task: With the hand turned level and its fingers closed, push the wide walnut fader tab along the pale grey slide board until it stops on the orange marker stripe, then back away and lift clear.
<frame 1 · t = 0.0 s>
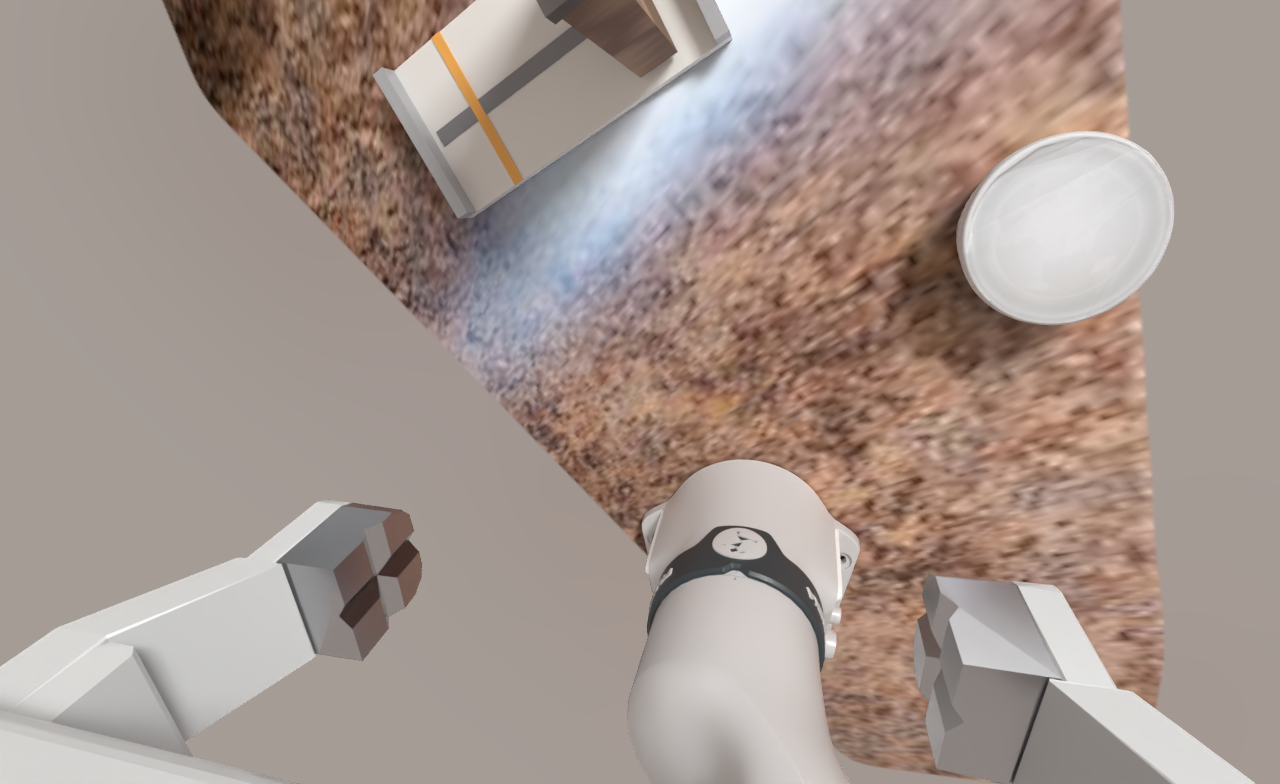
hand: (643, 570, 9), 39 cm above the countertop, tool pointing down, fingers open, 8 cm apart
ramekin: (1030, 227, 40), on the countertop
slide board: (550, 61, 44), on the countertop
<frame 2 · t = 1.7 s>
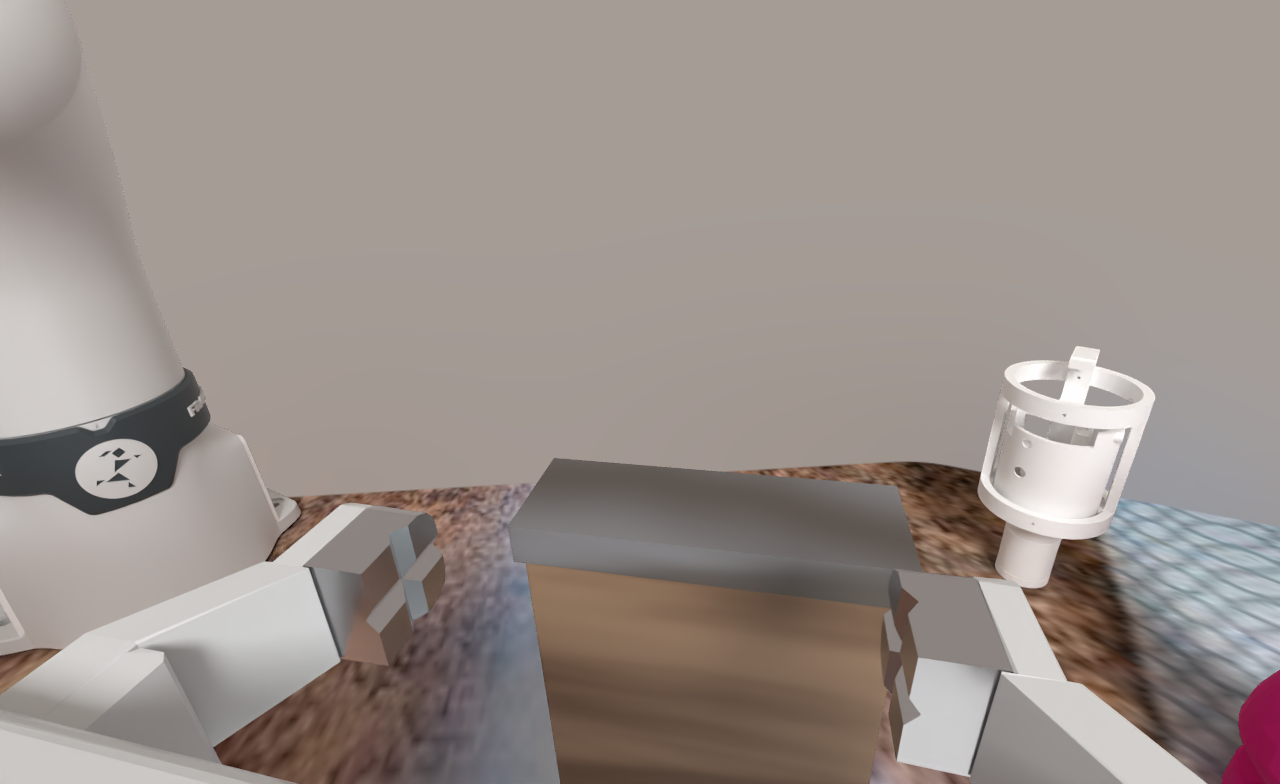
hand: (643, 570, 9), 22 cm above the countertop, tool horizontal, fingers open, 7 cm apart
white cylindrical cage holder: (1020, 574, 40), on the countertop
fader: (706, 715, 20), point 10 cm above the countertop, slide at -7.0 cm
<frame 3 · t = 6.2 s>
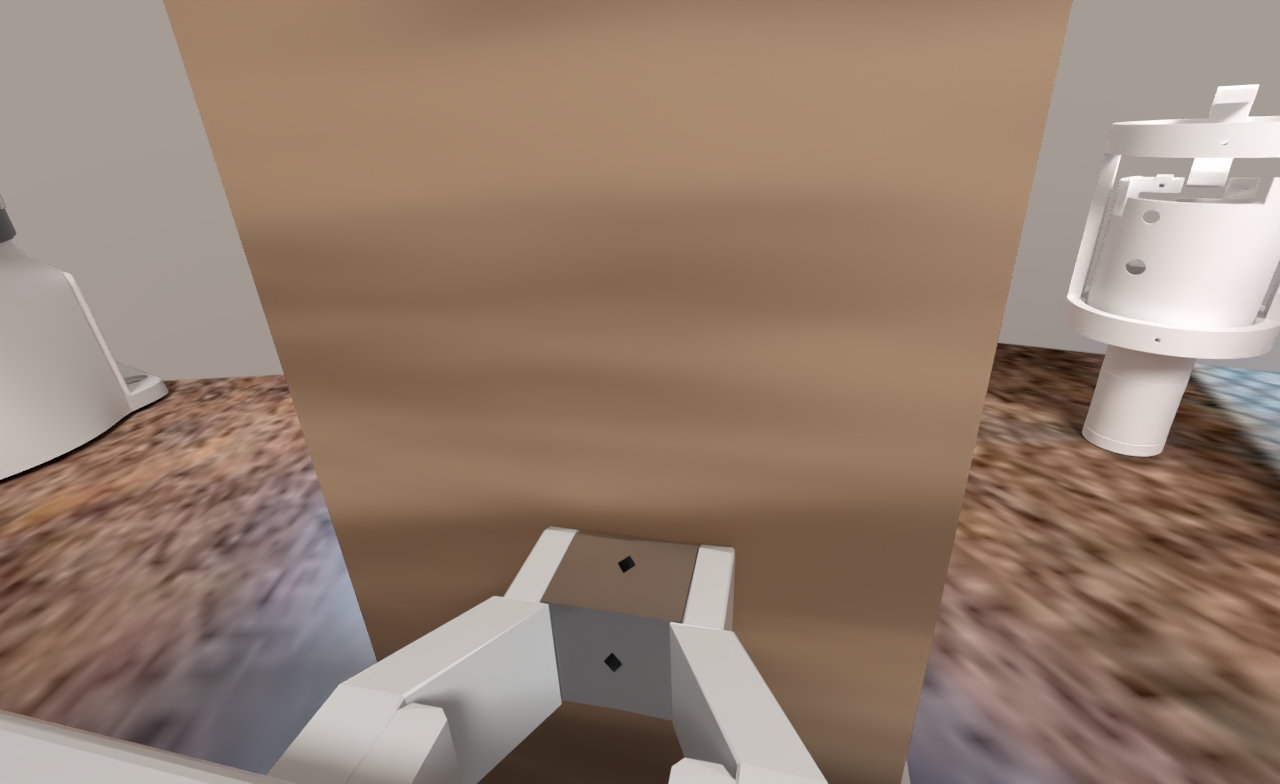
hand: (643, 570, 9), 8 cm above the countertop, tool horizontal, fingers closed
white cylindrical cage holder: (1119, 443, 28), on the countertop
fader: (618, 426, 10), point 10 cm above the countertop, slide at -5.6 cm, touching gripper
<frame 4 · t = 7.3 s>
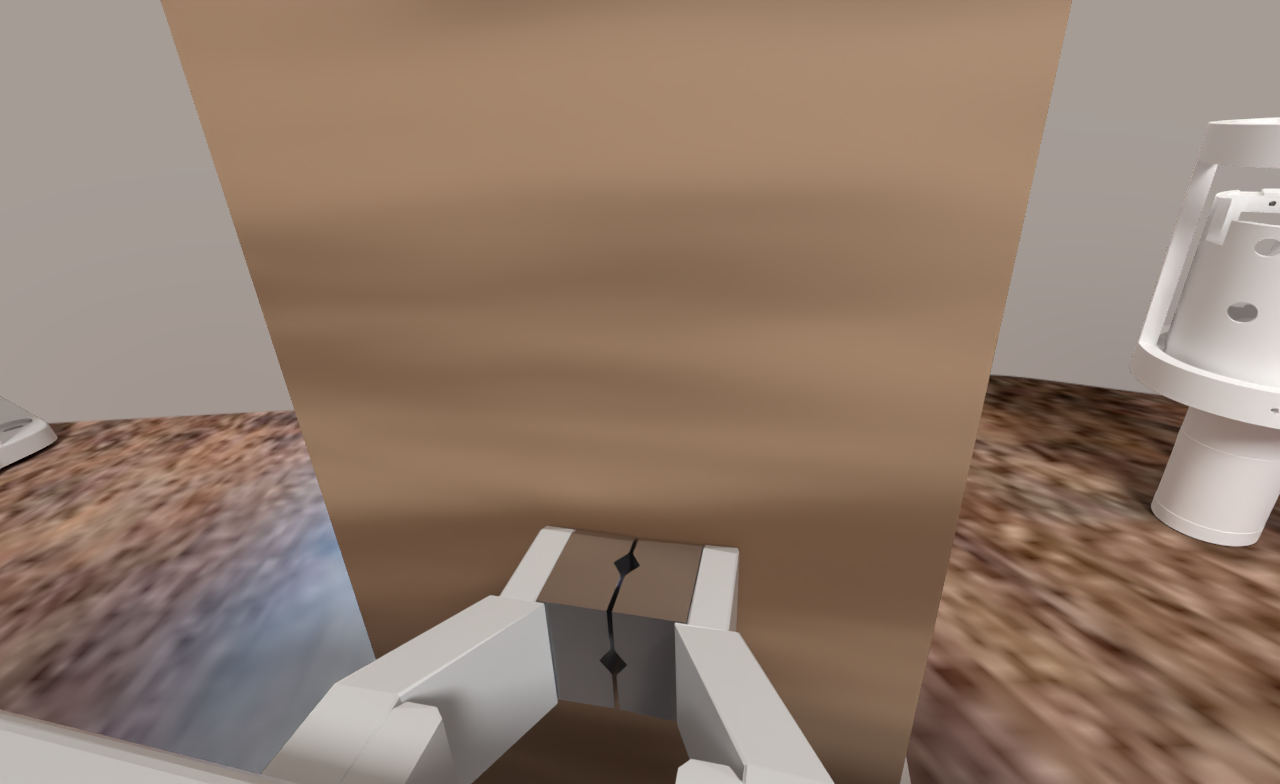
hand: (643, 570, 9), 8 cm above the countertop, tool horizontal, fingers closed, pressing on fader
white cylindrical cage holder: (1200, 524, 22), on the countertop
fader: (617, 422, 10), point 10 cm above the countertop, slide at 0.8 cm, touching gripper
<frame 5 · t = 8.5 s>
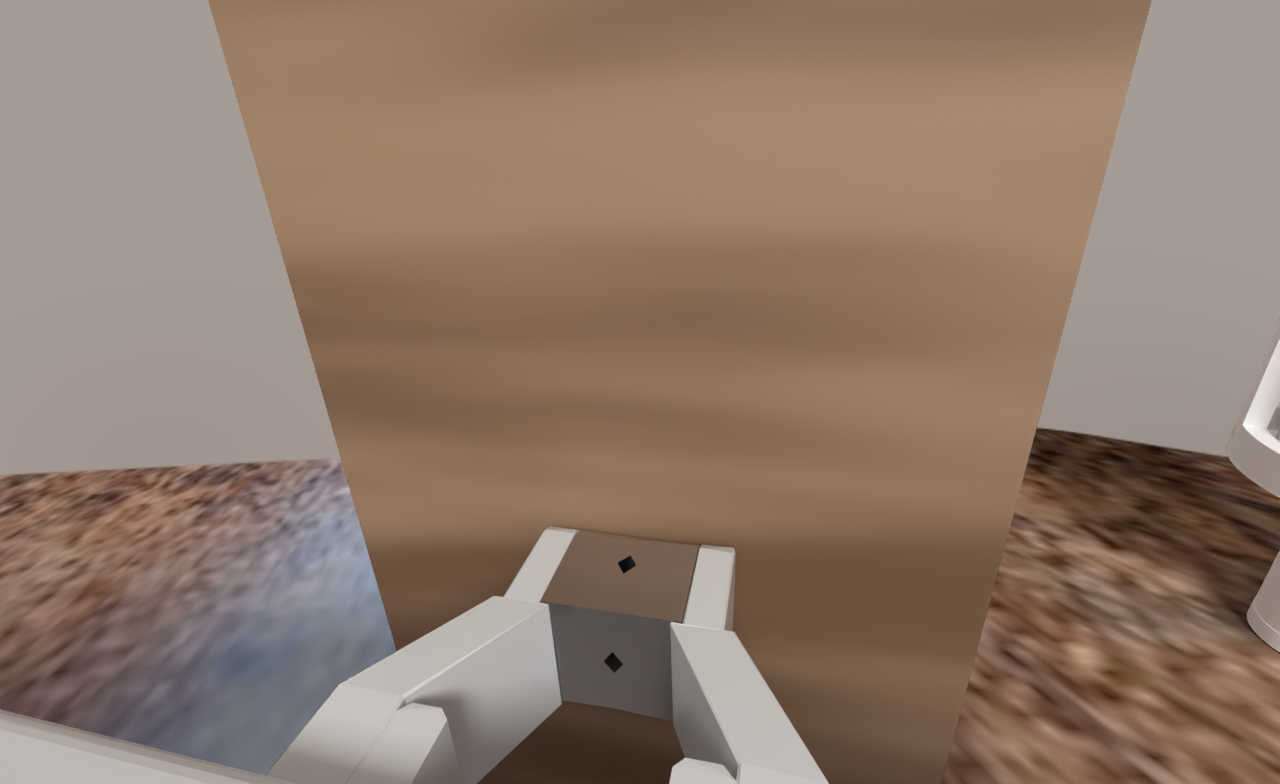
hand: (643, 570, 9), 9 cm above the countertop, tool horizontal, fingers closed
fader: (654, 453, 10), point 10 cm above the countertop, slide at 5.8 cm, touching gripper
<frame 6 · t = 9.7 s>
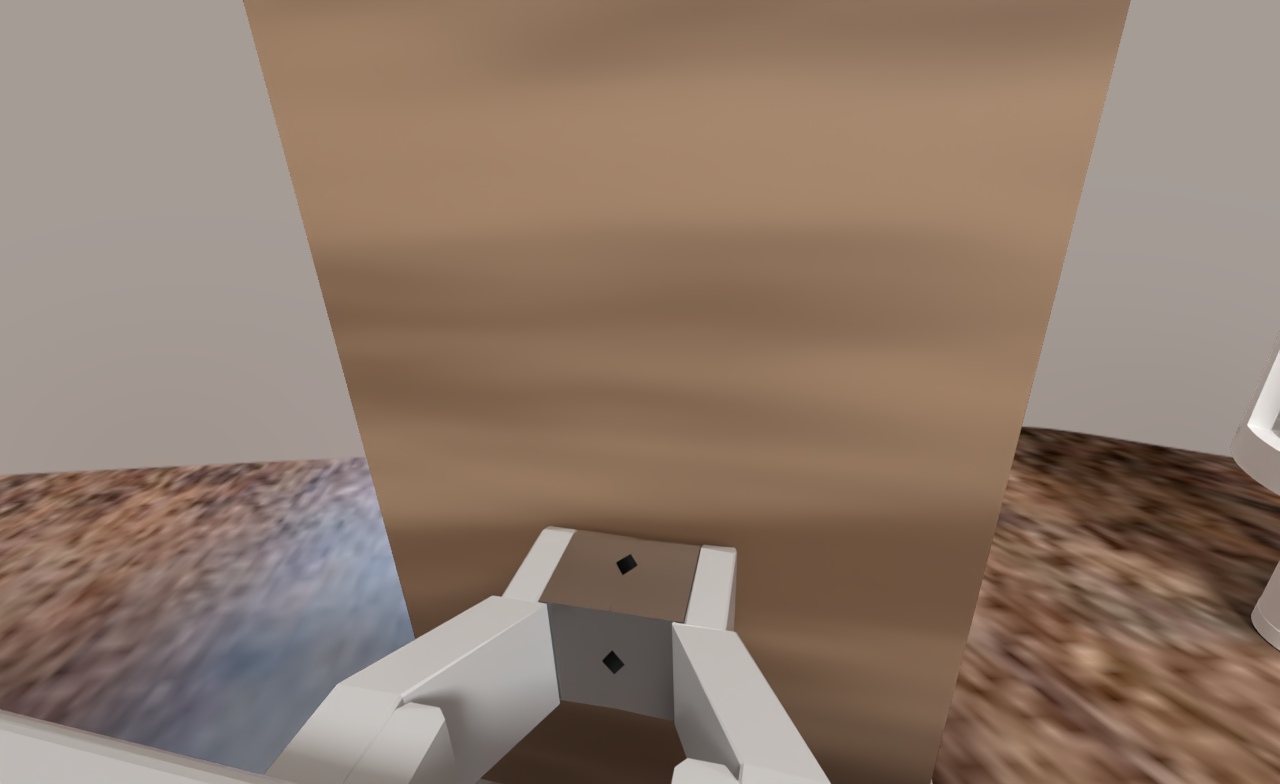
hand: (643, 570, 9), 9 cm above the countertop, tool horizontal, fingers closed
fader: (662, 438, 11), point 10 cm above the countertop, slide at 6.4 cm
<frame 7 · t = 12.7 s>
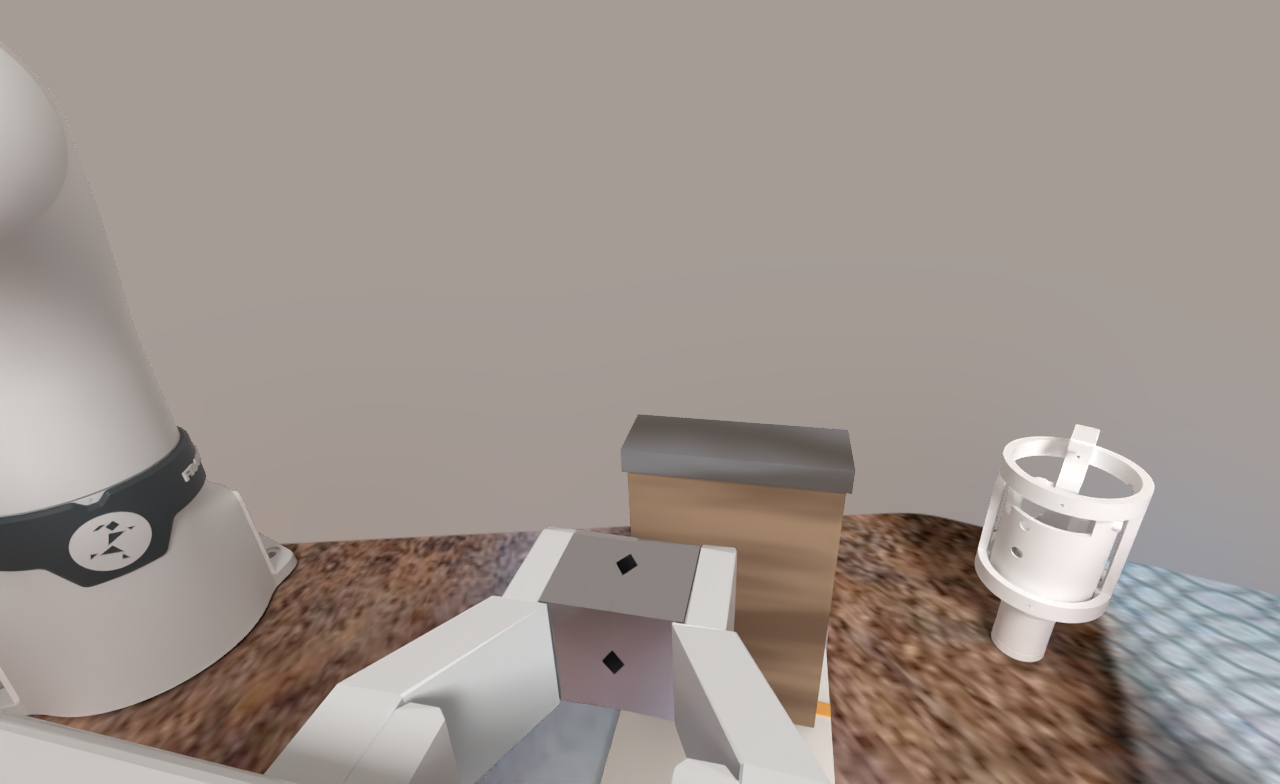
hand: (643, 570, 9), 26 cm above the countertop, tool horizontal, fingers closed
white cylindrical cage holder: (1016, 645, 39), on the countertop
fader: (730, 578, 32), point 10 cm above the countertop, slide at 6.4 cm
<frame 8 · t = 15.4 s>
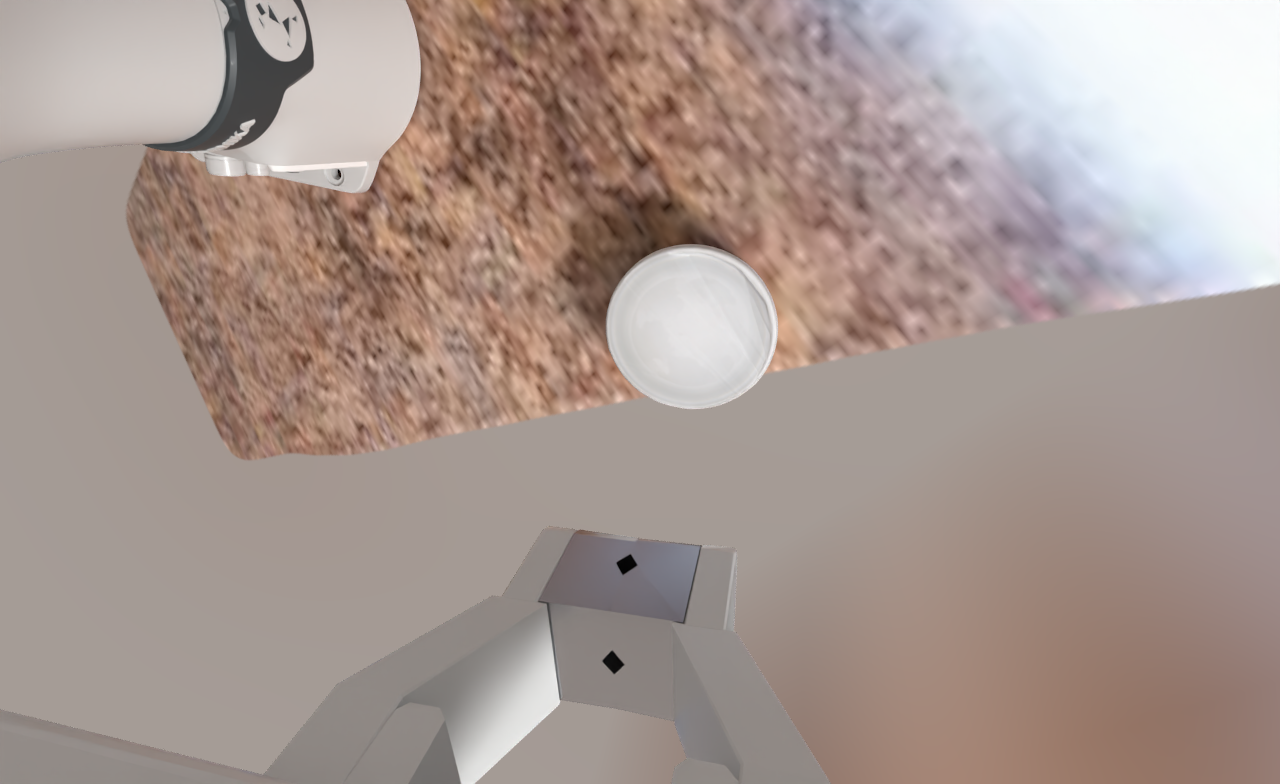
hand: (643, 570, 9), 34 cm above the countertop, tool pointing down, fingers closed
ramekin: (700, 309, 43), on the countertop
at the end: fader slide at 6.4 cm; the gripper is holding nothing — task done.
